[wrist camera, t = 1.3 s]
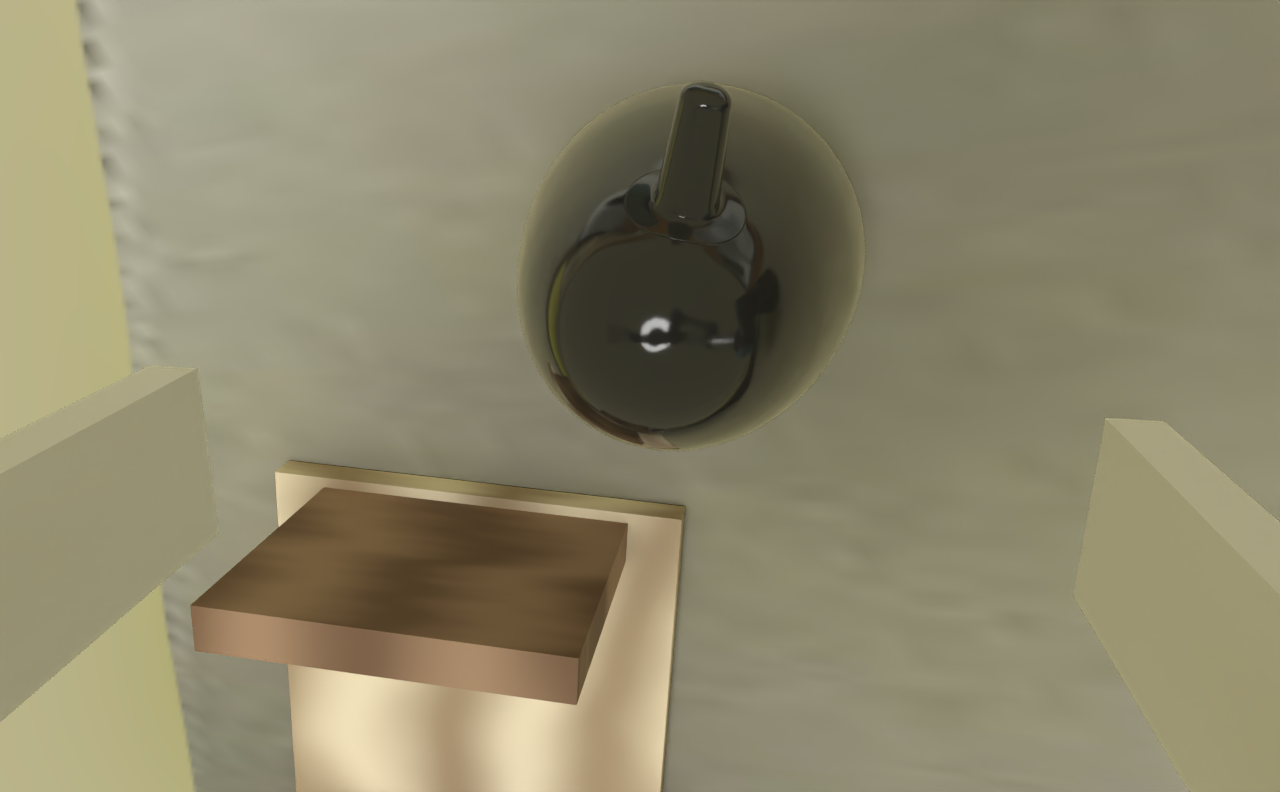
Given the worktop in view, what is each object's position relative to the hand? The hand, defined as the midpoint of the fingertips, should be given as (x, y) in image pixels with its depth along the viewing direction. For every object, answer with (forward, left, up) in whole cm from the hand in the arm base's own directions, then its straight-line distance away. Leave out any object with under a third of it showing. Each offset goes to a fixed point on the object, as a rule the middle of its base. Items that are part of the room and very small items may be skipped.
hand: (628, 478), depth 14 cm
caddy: (+9, +19, -21) cm, 29 cm away
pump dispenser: (+1, 0, -21) cm, 21 cm away
